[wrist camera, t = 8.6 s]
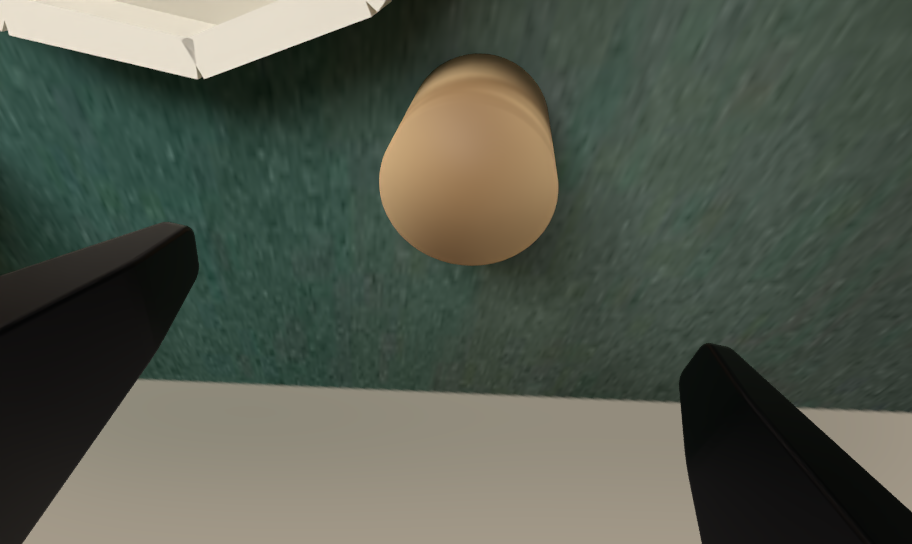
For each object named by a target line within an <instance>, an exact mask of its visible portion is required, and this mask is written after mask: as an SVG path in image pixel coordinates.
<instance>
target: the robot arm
mask: <svg viewBox="0 0 912 544" xmlns="http://www.w3.org/2000/svg"><path fill="white" fill-rule="evenodd" d="M198 271H199V262H198V255H197V249H196V242H195V236H194V232H193V230H192V229H191V228H190V227H188V226H185V225H180V224H176V223H171V222H162V223H159V224H156V225H153V226H150V227H147V228H144V229H141V230H138V231H135V232H132V233H129V234H126V235H123V236H120V237H117V238H114V239H110V240H107V241H104V242H101V243H98V244H95V245H92V246H89V247H86V248H83V249H80V250H77V251H74V252H71V253H68V254H65V255H62V256H59V257H56V258H53V259H50V260H47V261H44V262H40V263H37V264H34V265H31V266H28V267H25V268H22V269H19V270H16V271H13V272H10V273H7V274H4V275H1V276H0V544H22V543H23V542H24V540H25V539H26V537H27V536H28V535H29V533H30V532H31V530H32V529H33V527H34V526H35V525H36V523H37V522H38V520H39V519H40V517H41V516H42V515H43V513H44V512H45V510H46V509H47V508H48V506H49V505H50V503H51V502H52V500H53V499H54V497H55V496H56V494H57V493H58V492H59V490H60V489H61V488H62V486H63V485H64V483H65V482H66V480H67V479H68V478H69V476H70V475H71V473H72V472H73V470H74V469H75V468H76V466H77V465H78V463H79V462H80V460H81V459H82V458H83V456H84V455H85V453H86V452H87V450H88V449H89V448H90V446H91V445H92V443H93V442H94V440H95V439H96V438H97V436H98V435H99V433H100V432H101V430H102V429H103V428H104V426H105V425H106V423H107V422H108V421H109V419H110V418H111V416H112V415H113V413H114V412H115V411H116V409H117V408H118V406H119V405H120V403H121V402H122V400H123V399H124V398H125V396H126V395H127V393H128V392H129V391H130V389H131V388H132V386H133V385H134V383H135V382H136V381H137V379H138V378H139V376H140V375H141V373H142V372H143V371H144V369H145V368H146V366H147V365H148V363H149V362H150V360H151V359H152V357H153V356H154V354H155V353H156V351H157V350H158V348H159V346H160V345H161V343H162V341H163V339H164V338H165V336H166V334H167V332H168V330H169V328H170V326H171V325H172V323H173V321H174V319H175V317H176V315H177V313H178V312H179V310H180V308H181V306H182V304H183V302H184V300H185V299H186V297H187V295H188V293H189V291H190V289H191V287H192V286H193V284H194V282H195V280H196V278H197V275H198ZM679 391H680V402H681V413H682V425H683V435H684V436H683V437H684V448H685V457H686V464H687V470H688V476H689V481H690V486H691V491H692V496H693V501H694V506H695V511H696V516H697V521H698V526H699V531H700V536H701V541H702V544H912V512H911V511H910V510H909V509H908V508H907V507H905V506H904V505H903V504H902V503H901V502H900V501H899V500H898V499H897V498H896V497H894V496H893V495H892V494H891V493H890V492H889V491H888V490H887V489H886V488H884V487H883V486H882V485H881V484H880V483H879V482H878V481H877V480H876V479H875V478H873V477H872V476H871V475H870V474H869V473H868V472H867V471H865V469H864V468H862V467H861V466H860V465H859V464H858V463H857V462H856V461H855V460H853V459H852V458H851V457H850V456H849V455H848V454H847V453H846V452H845V451H844V450H842V449H841V448H840V447H839V446H838V445H837V444H836V443H835V442H834V441H833V440H832V439H830V438H829V437H828V436H827V435H826V434H825V433H824V432H823V431H822V430H820V429H819V428H818V427H817V426H816V425H815V424H814V423H813V422H812V421H811V420H809V419H808V418H807V417H806V416H805V415H804V414H803V413H802V412H801V411H800V410H799V409H797V408H796V407H795V406H794V405H793V404H792V403H791V402H790V401H789V400H787V399H786V398H785V397H784V396H783V395H782V394H781V393H780V392H779V391H778V390H776V389H775V388H774V387H773V386H772V385H771V384H770V383H769V382H768V381H767V380H765V379H764V378H763V377H762V376H761V375H760V374H759V373H758V372H757V371H756V370H754V369H753V368H752V367H751V366H750V365H749V364H748V363H747V362H746V361H745V360H743V359H742V358H741V357H740V356H739V355H738V354H737V353H736V352H735V351H734V350H732V349H731V348H729V347H726V346H721V345H717V344H713V343H706V344H704V345H702V346H701V347H700V348H699V349H698V351H697V352H696V354H695V355H694V356H693V358H692V359H691V360H690V362H689V363H688V365H687V366H686V367H685V369H684V370H683V372H682V374H681V376H680V380H679Z"/></svg>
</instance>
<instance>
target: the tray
mask: <svg viewBox="0 0 912 544" xmlns="http://www.w3.org/2000/svg"><path fill="white" fill-rule="evenodd" d="M391 1H392V0H0V31H6V30H8V33H9V35H10V36H15V37H19V38H23V39H27V40H32V41H36V42H40V43H44V44H49V45H53V46H57V47H61V48H66V49H70V50H74V51H78V52H83V53H87V54H91V55H95V56H100V57H104V58H108V59H112V60H117V61H121V62H125V63H130V64H134V65H138V66H142V67H147V68H151V69H155V70H159V71H164V72H168V73H172V74H176V75H181V76H185V77H189V78H193V79H200V78H201V77H203V78H204V79H206V78H209V77H212V76H214V75H217V74H220V73H222V72H225V71H228V70H230V69H233V68H236V67H239V66H241V65H244V64H247V63H249V62H252V61H255V60H257V59H260V58H263V57H265V56H268V55H271V54H273V53H276V52H279V51H281V50H284V49H287V48H289V47H292V46H295V45H297V44H300V43H303V42H306V41H308V40H311V39H314V38H316V37H319V36H322V35H324V34H327V33H330V32H332V31H335V30H338V29H340V28H343V27H346V26H348V25H351V24H354V23H356V22H359V21H362V20H365V19H367V18H370V17H372V16H373V15H375V14H376V13H377V12H379V11H380V10H381V9H382V8H384V7H385V6H386V5H388V4H389V3H390V2H391Z"/></svg>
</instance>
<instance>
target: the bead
mask: <svg viewBox="0 0 912 544" xmlns="http://www.w3.org/2000/svg"><path fill="white" fill-rule="evenodd" d="M379 187H380V195H381V199H382V203H383V206H384V209H385V211H386V214H387V216H388V217H389V219H390V221H391V223H392V224H393V226H394V227H395V228H396V230H397V231H398V232H399V233H400V234H401V236H402V237H403V238H404V239H405V240H406V241H408V242H409V243H410V244H411V245H412V246H414V247H415V248H417V249H418V250H420V251H421V252H423V253H425V254H427V255H429V256H431V257H433V258H436V259H438V260H441V261H444V262H448V263H452V264H458V265H470V266H473V265H486V264H492V263H496V262H500V261H503V260H505V259H508V258H511V257H513V256H515V255H516V254H518V253H520V252H522V251H523V250H525V249H526V248H527V247H529V246H530V245H531V244H532V243H533V242H535V241H536V240H537V239H538V238H539V236H540V235H541V234H542V233H543V232H544V230H545V229H546V227H547V226H548V224H549V222H550V220H551V218H552V216H553V214H554V211H555V207H556V204H557V198H558V177H557V170H556V163H555V156H554V149H553V143H552V136H551V129H550V122H549V115H548V109H547V105H546V101H545V98H544V96H543V94H542V92H541V90H540V88H539V86H538V85H537V83H536V82H535V81H534V79H533V78H532V77H531V76H530V75H529V74H528V73H527V72H526V71H525V70H524V69H522V68H521V67H520V66H518V65H517V64H515V63H513V62H511V61H509V60H507V59H505V58H502V57H499V56H496V55H490V54H468V55H463V56H459V57H456V58H454V59H451V60H449V61H447V62H445V63H443V64H442V65H440V66H439V67H437V68H436V69H435V70H434V71H432V72H431V73H430V74H429V76H428V77H427V78H426V79H425V80H424V82H423V83H422V84H421V86H420V88H419V89H418V91H417V93H416V95H415V97H414V99H413V101H412V103H411V105H410V106H409V108H408V110H407V112H406V114H405V116H404V118H403V120H402V122H401V123H400V125H399V127H398V129H397V131H396V133H395V135H394V137H393V139H392V140H391V142H390V144H389V146H388V148H387V150H386V152H385V154H384V157H383V160H382V163H381V169H380V176H379Z"/></svg>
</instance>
